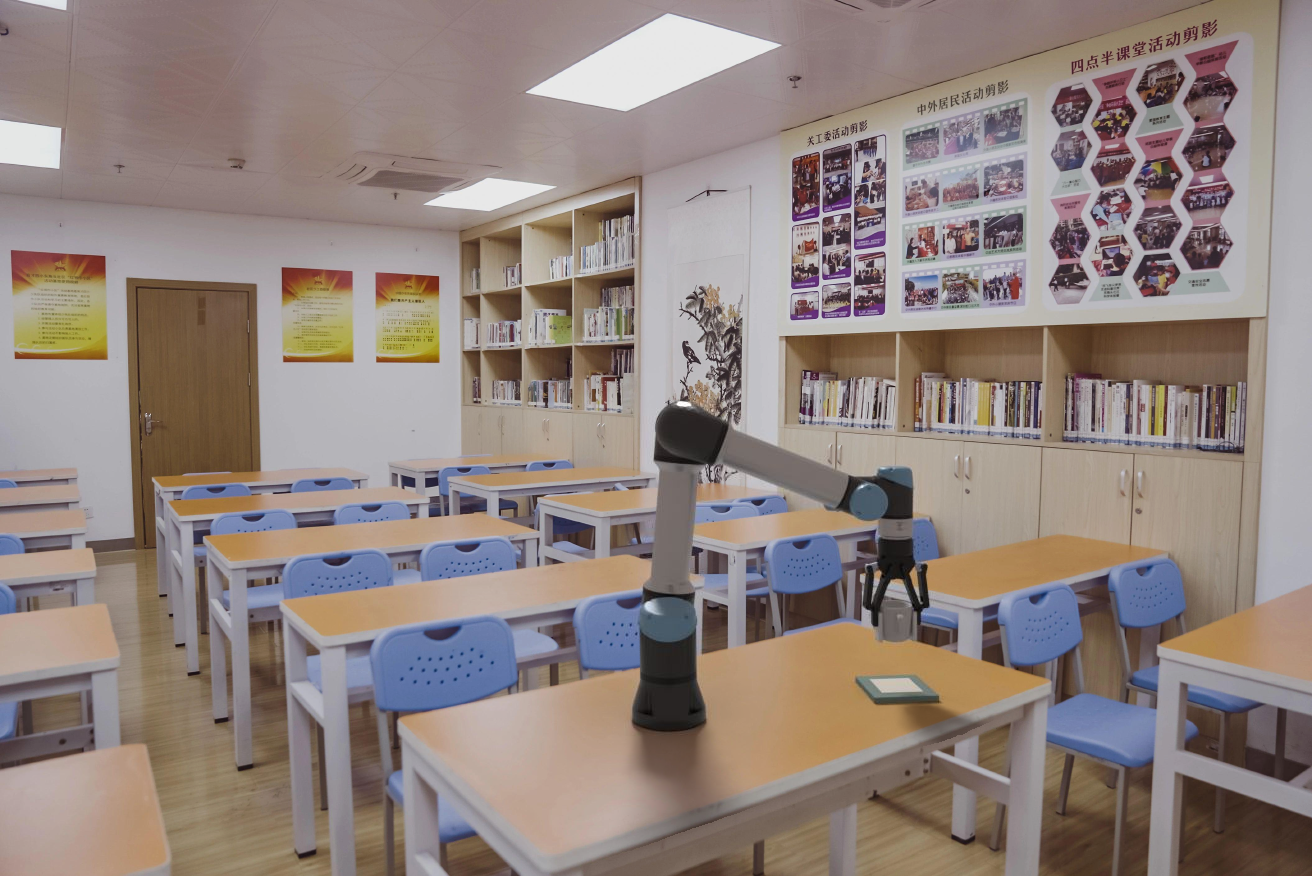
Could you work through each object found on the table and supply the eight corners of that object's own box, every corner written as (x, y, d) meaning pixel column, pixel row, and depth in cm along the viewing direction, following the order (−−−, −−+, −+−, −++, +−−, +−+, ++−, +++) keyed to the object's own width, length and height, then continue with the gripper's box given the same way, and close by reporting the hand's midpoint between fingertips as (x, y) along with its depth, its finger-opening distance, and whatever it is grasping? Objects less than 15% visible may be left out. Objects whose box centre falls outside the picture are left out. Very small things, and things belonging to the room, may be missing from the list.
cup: (921, 648, 183) (921, 611, 183) (883, 648, 183) (883, 611, 183) (907, 634, 194) (907, 599, 194) (871, 634, 194) (871, 599, 194)
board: (874, 703, 182) (874, 697, 182) (855, 681, 196) (855, 675, 196) (939, 700, 183) (939, 694, 182) (915, 679, 197) (915, 673, 196)
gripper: (855, 540, 183) (856, 646, 184) (946, 538, 184) (947, 643, 185) (846, 535, 191) (846, 636, 192) (933, 532, 192) (933, 634, 193)
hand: (896, 640), depth 189 cm, fingers closed on cup, 7 cm apart
